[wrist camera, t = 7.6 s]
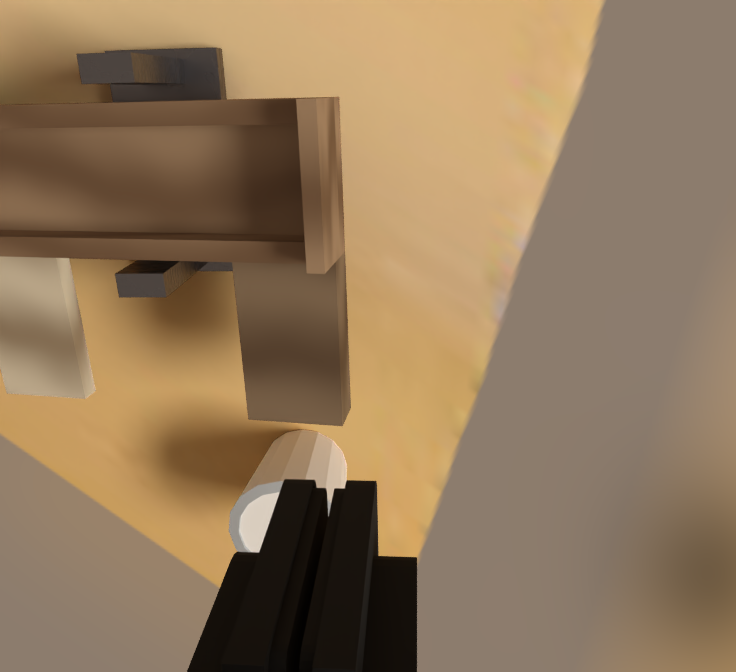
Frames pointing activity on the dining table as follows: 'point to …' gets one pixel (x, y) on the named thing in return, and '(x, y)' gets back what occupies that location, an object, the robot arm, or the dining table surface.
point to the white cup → (283, 461)
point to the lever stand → (158, 83)
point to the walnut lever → (180, 234)
